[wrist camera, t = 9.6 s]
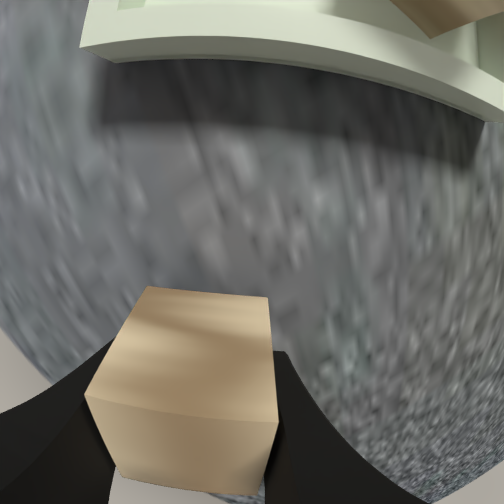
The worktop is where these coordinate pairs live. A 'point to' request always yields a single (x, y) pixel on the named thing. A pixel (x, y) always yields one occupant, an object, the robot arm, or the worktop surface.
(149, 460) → the maple block
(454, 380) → the worktop surface
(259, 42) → the tray
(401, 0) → the maple block
